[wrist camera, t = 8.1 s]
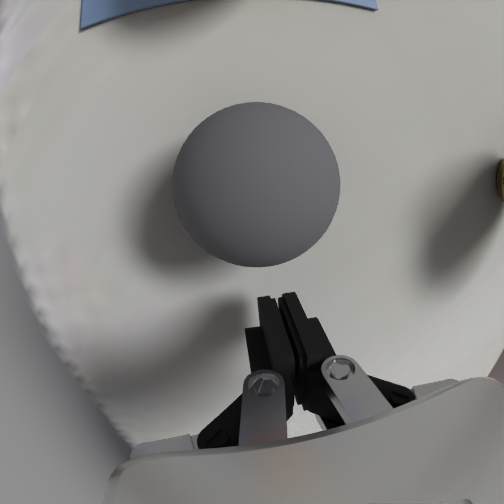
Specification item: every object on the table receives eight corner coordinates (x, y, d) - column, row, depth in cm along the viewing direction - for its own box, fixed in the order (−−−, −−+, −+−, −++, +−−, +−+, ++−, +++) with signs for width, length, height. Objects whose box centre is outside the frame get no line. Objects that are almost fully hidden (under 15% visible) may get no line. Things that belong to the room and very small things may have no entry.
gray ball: (352, 92, 5) (287, 75, 9) (118, 185, 6) (157, 127, 10) (376, 264, 8) (321, 187, 13) (219, 322, 9) (213, 228, 13)
